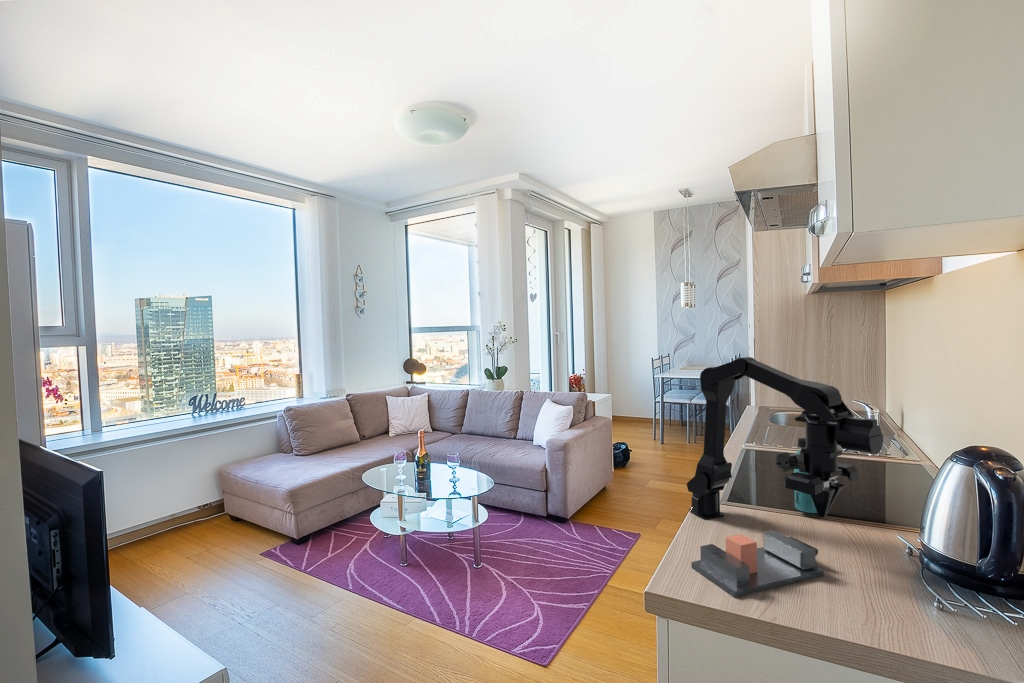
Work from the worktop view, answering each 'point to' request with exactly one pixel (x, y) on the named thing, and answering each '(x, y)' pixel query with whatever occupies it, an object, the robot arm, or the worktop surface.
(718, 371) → the robot arm
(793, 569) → the vise base
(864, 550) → the worktop surface
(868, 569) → the worktop surface
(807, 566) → the sliding jaw
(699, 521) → the worktop surface
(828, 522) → the worktop surface
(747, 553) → the brick-red block
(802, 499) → the beverage bottle
